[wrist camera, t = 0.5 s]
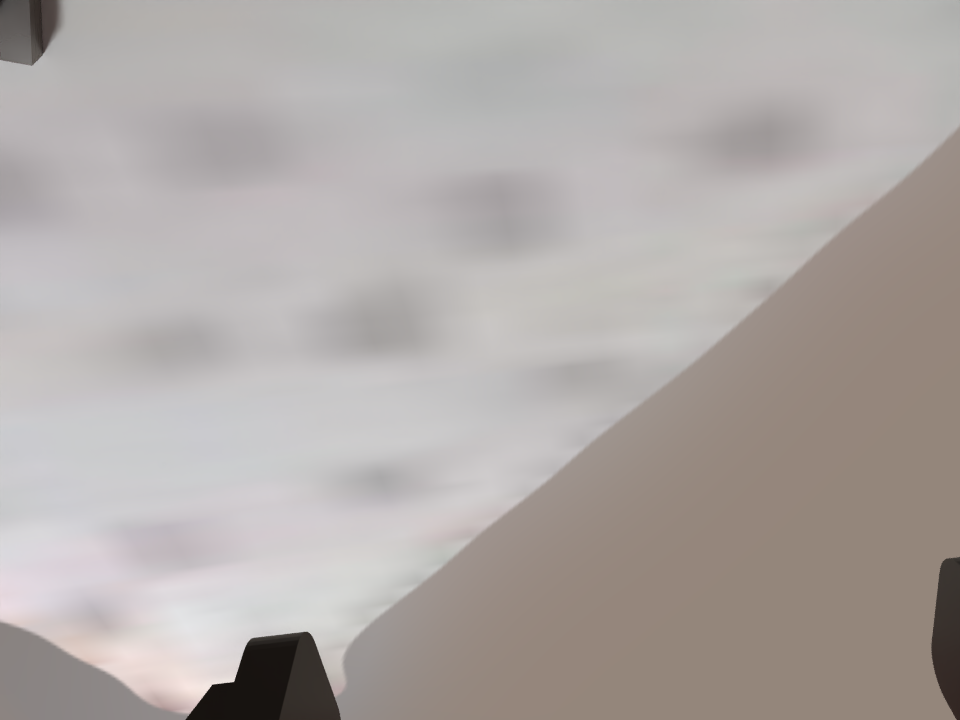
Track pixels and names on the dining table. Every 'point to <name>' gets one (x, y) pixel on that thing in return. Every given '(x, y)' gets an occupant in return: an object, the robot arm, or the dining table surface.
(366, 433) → the dining table surface
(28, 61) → the gate frame
